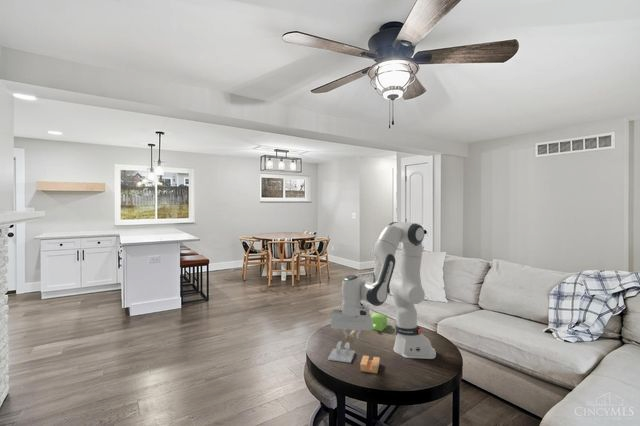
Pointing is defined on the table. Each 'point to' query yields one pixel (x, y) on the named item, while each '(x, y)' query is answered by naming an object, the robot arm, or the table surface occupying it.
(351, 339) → the axle
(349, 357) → the block
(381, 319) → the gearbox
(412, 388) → the table surface
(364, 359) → the orange grooved block
